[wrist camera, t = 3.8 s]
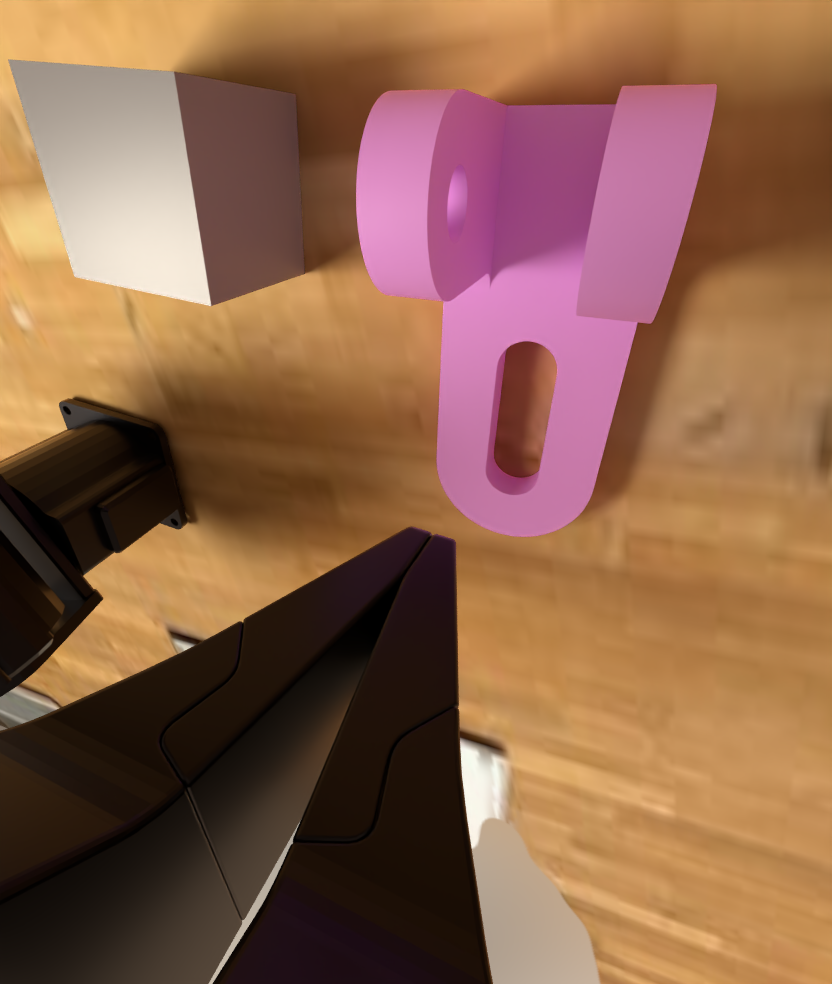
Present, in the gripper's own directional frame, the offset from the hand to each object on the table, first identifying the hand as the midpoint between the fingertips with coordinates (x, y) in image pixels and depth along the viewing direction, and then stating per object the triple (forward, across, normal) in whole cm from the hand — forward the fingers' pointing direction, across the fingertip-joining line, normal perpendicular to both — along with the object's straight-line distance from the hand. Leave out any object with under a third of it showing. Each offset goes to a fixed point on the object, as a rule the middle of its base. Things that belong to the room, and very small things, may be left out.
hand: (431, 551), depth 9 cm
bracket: (+10, 0, 0) cm, 10 cm away
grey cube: (+10, +11, -4) cm, 15 cm away
